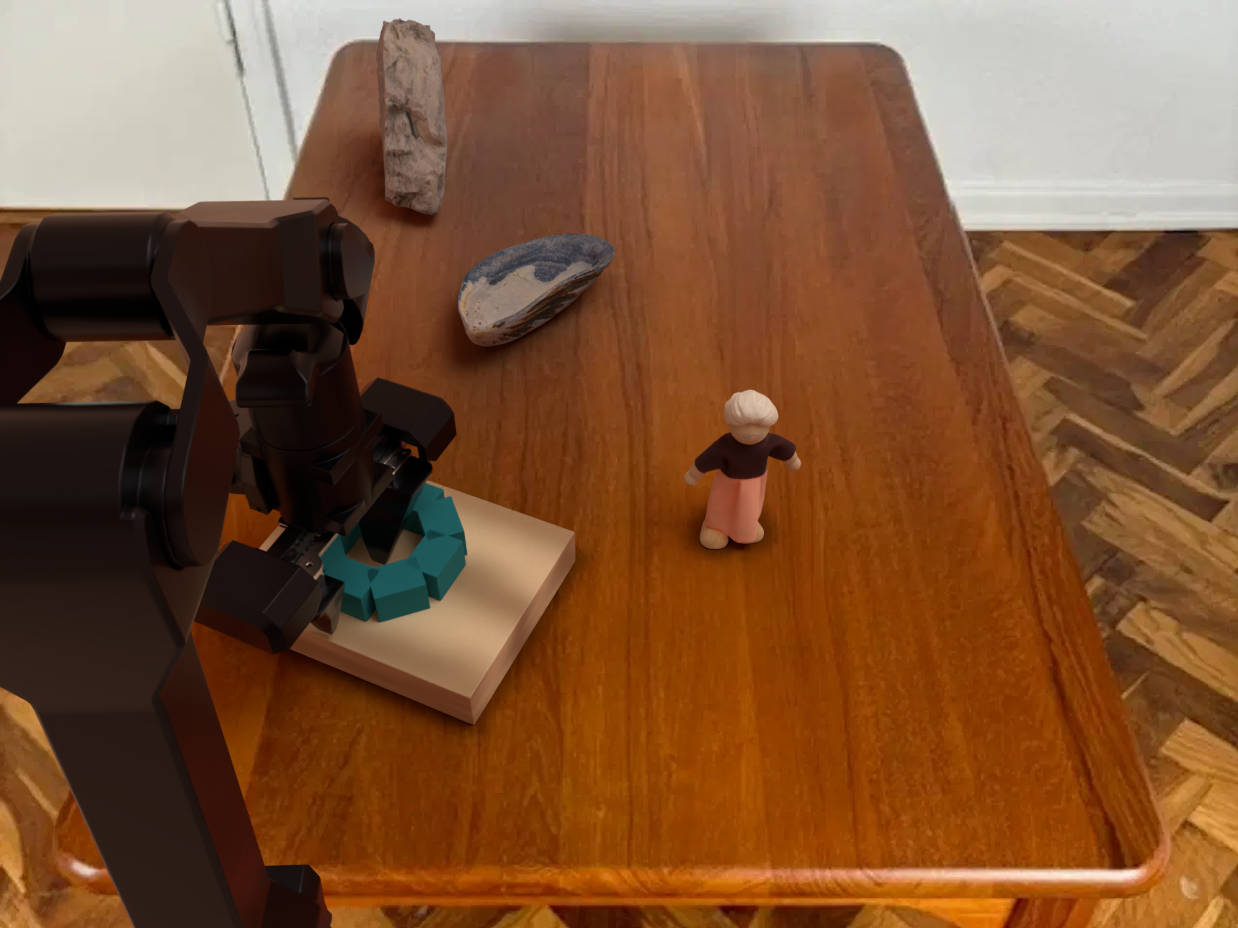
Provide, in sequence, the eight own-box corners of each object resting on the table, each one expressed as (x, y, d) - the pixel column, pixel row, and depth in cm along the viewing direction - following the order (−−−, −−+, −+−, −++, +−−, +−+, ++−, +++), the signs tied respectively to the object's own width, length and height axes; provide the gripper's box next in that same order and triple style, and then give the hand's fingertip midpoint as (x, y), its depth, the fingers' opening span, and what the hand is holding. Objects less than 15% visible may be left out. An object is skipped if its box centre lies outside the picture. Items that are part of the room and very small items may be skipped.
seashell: (617, 378, 93) (617, 328, 89) (456, 379, 93) (449, 329, 89) (614, 259, 104) (614, 210, 100) (469, 260, 103) (464, 211, 100)
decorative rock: (382, 136, 117) (358, -13, 106) (450, 131, 118) (433, -18, 107) (383, 233, 106) (356, 77, 95) (458, 227, 107) (440, 72, 96)
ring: (413, 641, 72) (408, 617, 70) (278, 587, 75) (270, 563, 73) (491, 529, 78) (488, 504, 77) (364, 483, 81) (358, 459, 79)
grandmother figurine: (698, 566, 80) (709, 432, 71) (675, 526, 82) (683, 391, 73) (800, 535, 82) (824, 400, 73) (775, 496, 84) (795, 361, 75)
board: (474, 725, 72) (470, 698, 69) (228, 624, 77) (217, 595, 75) (576, 560, 80) (575, 531, 78) (349, 479, 86) (343, 449, 83)
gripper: (284, 274, 71) (329, 457, 82) (61, 484, 59) (150, 664, 70) (447, 324, 68) (471, 507, 79) (246, 557, 56) (308, 733, 67)
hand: (354, 594), depth 74 cm, fingers open, 6 cm apart
